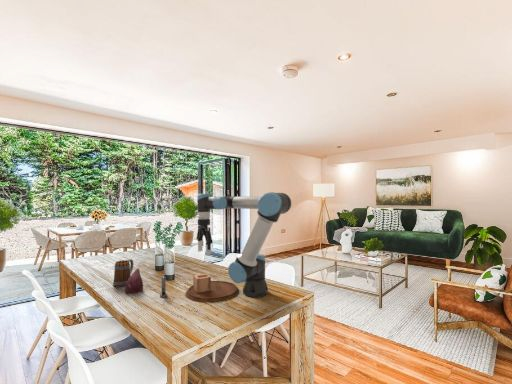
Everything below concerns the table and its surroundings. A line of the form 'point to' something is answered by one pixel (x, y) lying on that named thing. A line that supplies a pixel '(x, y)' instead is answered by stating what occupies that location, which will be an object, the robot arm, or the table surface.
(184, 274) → the table surface
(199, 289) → the c link
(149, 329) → the table surface
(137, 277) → the vegetable
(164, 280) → the stand
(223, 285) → the cutting board
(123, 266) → the mug
